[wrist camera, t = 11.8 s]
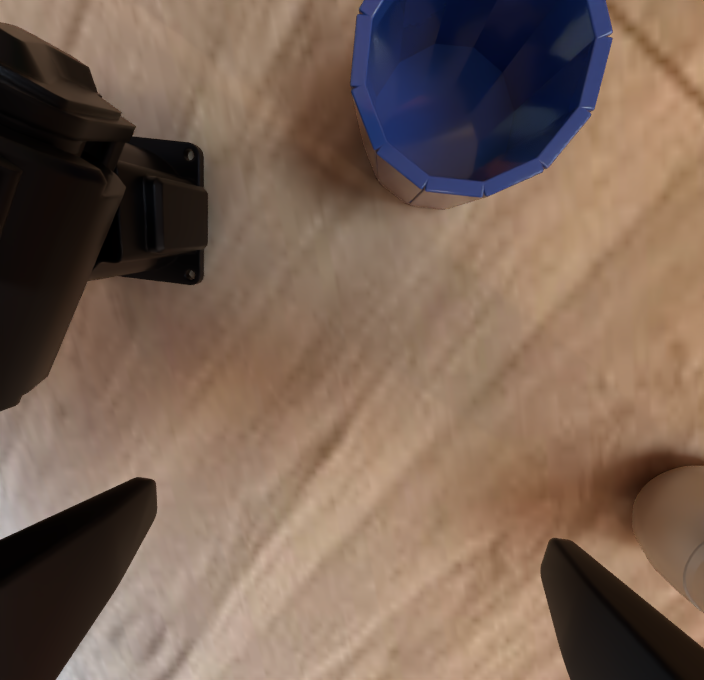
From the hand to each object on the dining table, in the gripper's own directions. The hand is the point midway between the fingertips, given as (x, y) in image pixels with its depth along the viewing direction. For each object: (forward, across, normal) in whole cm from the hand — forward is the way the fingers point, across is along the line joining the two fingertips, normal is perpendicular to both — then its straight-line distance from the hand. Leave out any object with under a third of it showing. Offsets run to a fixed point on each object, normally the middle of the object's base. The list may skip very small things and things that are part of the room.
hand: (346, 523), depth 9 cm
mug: (+12, -2, -12) cm, 17 cm away
